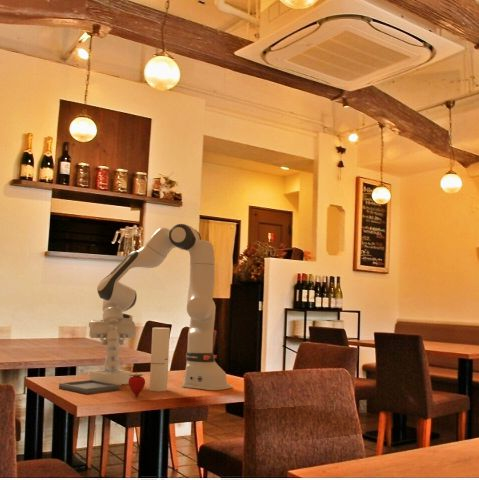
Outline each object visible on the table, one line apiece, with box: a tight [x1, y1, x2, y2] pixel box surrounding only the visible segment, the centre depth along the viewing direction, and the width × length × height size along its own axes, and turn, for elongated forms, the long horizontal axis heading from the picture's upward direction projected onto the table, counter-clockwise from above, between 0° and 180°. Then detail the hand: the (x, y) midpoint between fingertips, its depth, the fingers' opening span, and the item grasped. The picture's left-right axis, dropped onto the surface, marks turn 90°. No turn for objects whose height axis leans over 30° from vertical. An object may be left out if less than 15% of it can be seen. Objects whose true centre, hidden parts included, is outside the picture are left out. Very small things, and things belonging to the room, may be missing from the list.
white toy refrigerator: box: [148, 327, 171, 392], centre depth 228 cm, size 7×7×25 cm
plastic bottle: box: [103, 325, 122, 372], centre depth 241 cm, size 6×7×20 cm
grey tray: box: [58, 379, 121, 395], centre depth 223 cm, size 18×16×2 cm
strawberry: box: [128, 370, 146, 397], centre depth 210 cm, size 6×8×10 cm
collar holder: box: [89, 369, 132, 386], centre depth 240 cm, size 12×12×5 cm
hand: (113, 343), depth 241 cm, fingers closed on plastic bottle, 6 cm apart
